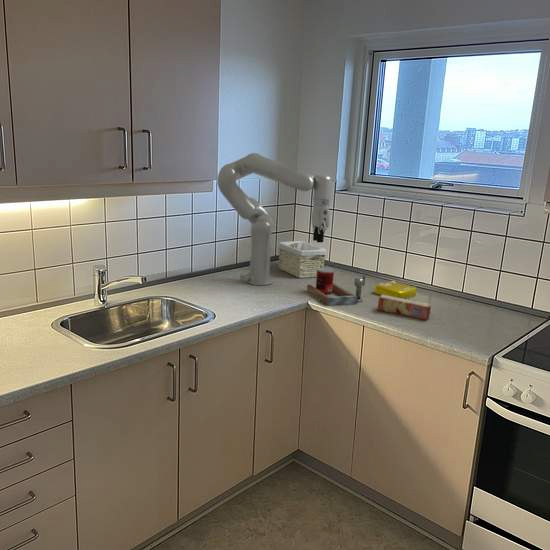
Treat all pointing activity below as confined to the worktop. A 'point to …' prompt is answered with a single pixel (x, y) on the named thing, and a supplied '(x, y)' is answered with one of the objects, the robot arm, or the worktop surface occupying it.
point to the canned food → (325, 280)
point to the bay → (330, 301)
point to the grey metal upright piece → (359, 287)
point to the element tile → (395, 290)
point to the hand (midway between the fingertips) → (318, 241)
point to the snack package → (404, 307)
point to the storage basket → (301, 258)
